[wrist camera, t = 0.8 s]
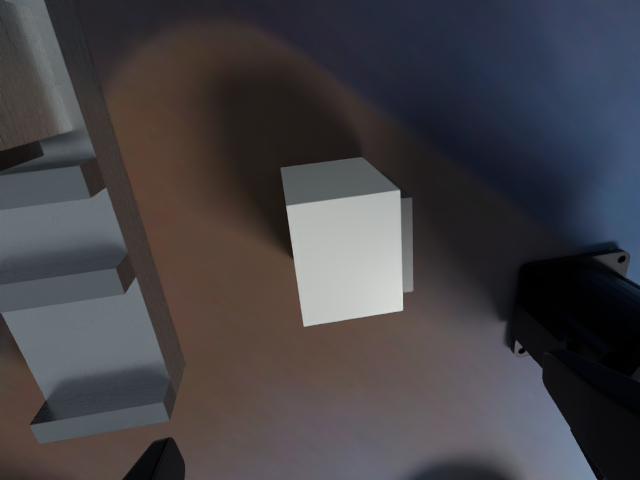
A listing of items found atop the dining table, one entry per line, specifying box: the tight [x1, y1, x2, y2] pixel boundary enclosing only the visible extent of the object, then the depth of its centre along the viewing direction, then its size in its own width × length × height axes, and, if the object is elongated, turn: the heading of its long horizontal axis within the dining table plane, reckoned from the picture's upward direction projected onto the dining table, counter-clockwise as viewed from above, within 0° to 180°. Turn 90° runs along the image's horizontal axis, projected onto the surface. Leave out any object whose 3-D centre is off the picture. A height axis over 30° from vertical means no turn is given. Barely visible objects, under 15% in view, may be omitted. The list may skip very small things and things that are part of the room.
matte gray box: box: [281, 157, 413, 326], centre depth 17 cm, size 5×5×6 cm
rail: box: [0, 0, 185, 444], centre depth 14 cm, size 6×20×8 cm, turn 6°
